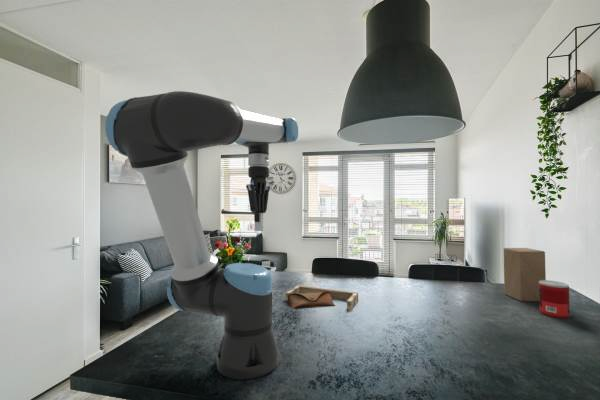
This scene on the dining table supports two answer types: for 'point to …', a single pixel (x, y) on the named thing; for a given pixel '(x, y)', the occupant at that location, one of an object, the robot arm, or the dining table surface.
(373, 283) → the dining table surface
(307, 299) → the sunglasses case
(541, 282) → the canned food
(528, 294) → the wooden block
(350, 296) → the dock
